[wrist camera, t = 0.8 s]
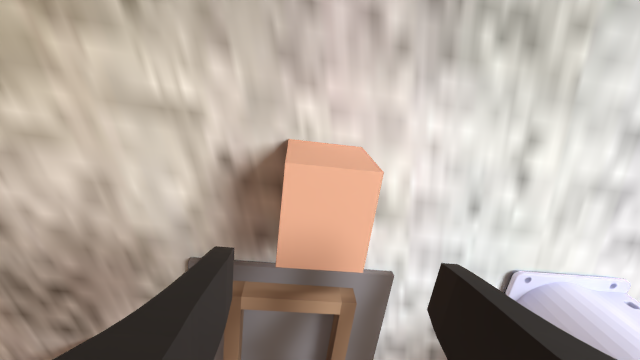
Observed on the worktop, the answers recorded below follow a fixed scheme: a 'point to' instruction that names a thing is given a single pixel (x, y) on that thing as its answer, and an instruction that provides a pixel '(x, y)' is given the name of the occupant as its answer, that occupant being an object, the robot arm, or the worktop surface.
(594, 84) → the worktop surface
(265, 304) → the collar
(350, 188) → the keyed block
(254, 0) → the worktop surface
